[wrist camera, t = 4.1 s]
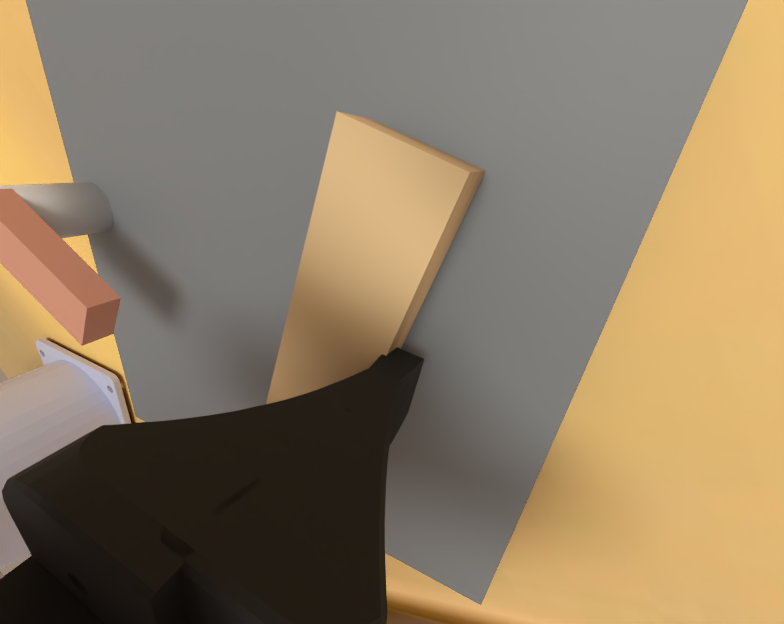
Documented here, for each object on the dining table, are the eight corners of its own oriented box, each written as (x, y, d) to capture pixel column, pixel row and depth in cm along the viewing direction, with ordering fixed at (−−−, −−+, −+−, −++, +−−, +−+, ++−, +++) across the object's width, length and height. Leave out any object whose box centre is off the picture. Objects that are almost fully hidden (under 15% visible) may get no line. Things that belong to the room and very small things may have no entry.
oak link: (345, 492, 14) (297, 567, 12) (269, 437, 15) (207, 496, 12) (506, 180, 8) (479, 188, 5) (357, 112, 9) (266, 89, 6)
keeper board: (485, 580, 15) (459, 728, 11) (152, 406, 21) (62, 460, 17) (727, 12, 6) (979, -212, 3) (60, 9, 13) (-155, -57, 9)
